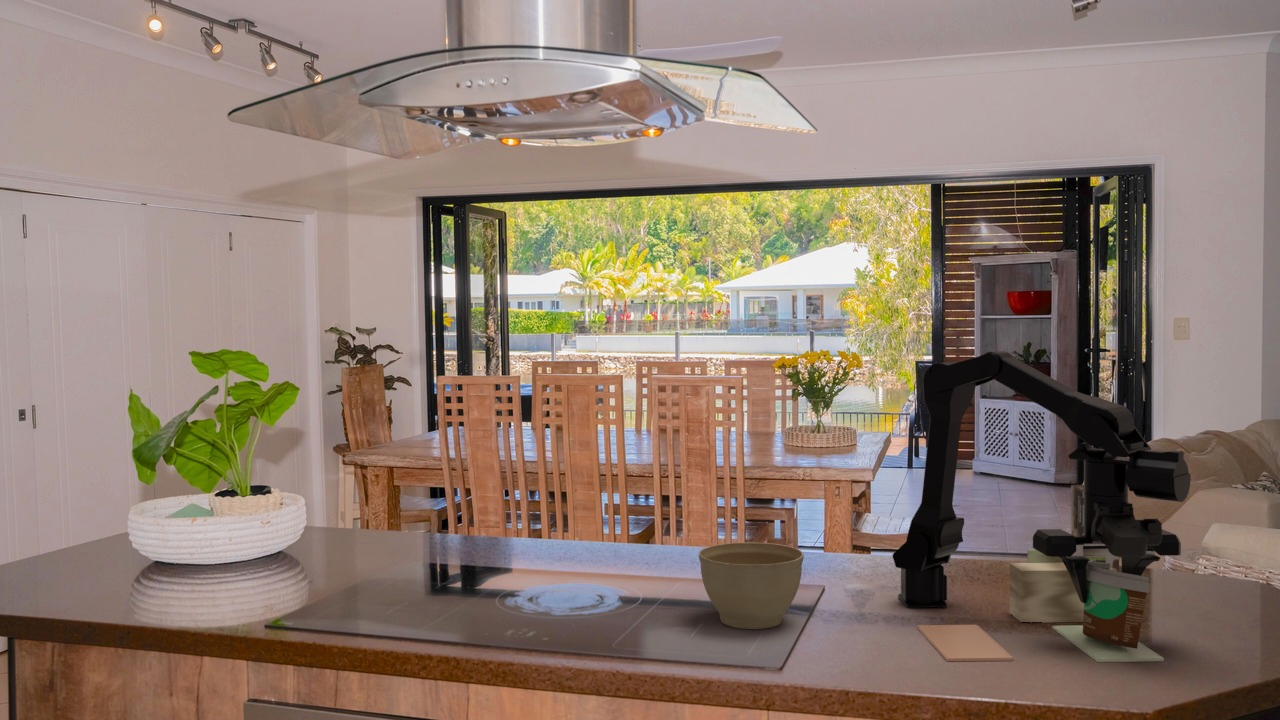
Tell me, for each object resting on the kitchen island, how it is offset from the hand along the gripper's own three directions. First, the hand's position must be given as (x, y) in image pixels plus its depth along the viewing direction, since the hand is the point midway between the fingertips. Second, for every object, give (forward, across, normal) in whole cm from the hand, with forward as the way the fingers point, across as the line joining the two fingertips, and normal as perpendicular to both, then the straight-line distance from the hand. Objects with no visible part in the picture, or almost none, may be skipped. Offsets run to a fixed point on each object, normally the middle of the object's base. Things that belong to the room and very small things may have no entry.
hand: (1105, 602), depth 144 cm
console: (+6, -1, +13) cm, 14 cm away
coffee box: (+6, +15, +37) cm, 40 cm away
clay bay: (+6, -20, +1) cm, 21 cm away
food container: (+5, -1, -1) cm, 5 cm away
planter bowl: (+6, -49, +13) cm, 51 cm away
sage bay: (+6, 0, 0) cm, 6 cm away
